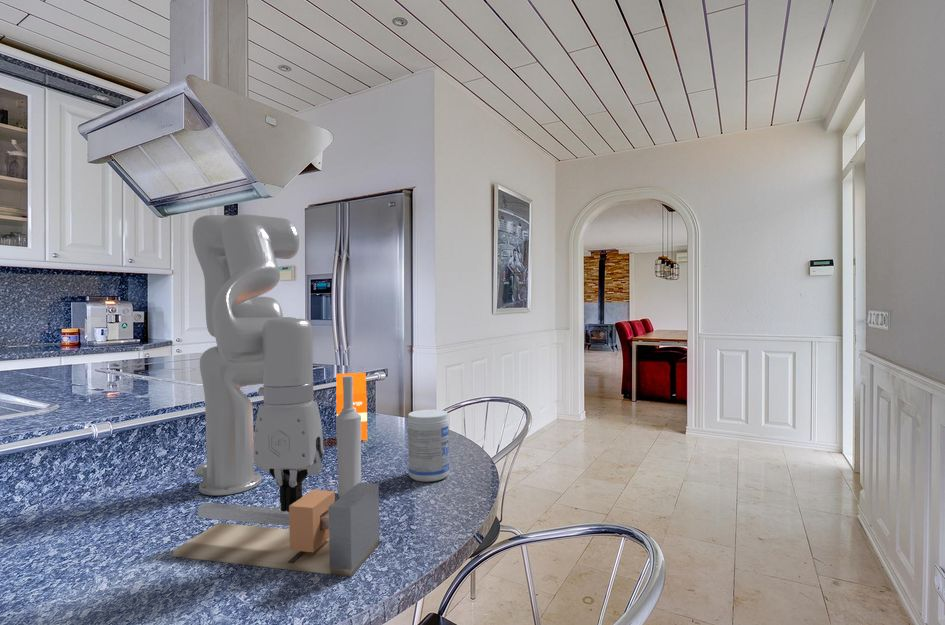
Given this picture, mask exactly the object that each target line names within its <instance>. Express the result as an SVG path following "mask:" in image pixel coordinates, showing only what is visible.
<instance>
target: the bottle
mask: <svg viewBox="0 0 945 625" xmlns="http://www.w3.org/2000/svg"><path fill="white" fill-rule="evenodd" d="M335 428H336V452H337V454H336V456H337V457H336V458H337V460H336V461H337V477H338V478H337V481H338V484H337V485H338V486H337V487H336V490H337V495H338V498H340V497H342V496H343V495H344V494H345V493H347V492H348V491H349V490H350V489H352V488H353V487H354V486H355V485H357V484H358V483H362V442H361V415H360V414H358V413H357V412H356V411H355V408H354V407H353V376H343V409H342V412H341V413H340V414H339V415H338V416H337V415H336V417H335Z"/></svg>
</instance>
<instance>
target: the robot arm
mask: <svg viewBox="0 0 945 625" xmlns="http://www.w3.org/2000/svg"><path fill="white" fill-rule="evenodd" d="M191 237H192V244H193V248H194V252H195V255H196V258H197V260H198V263H199V265H200V267H201V271H202V274H203V278H204V299H205V300H204V301H205V302H204V303H205V322H206V323H205V324H206V328H207V329H206V330H207V332H208V333H209V335H210V336H212V338H213V337H214V338H215V342H216V346H213V347H210V348H207V349H206V350H204V352H202V354H201V355H200V359H199V369H200V370H199V372H200V376H201V381H202V387H203V394H204V408H205V446H206V448H205V449H206V450H205V452H206V464H199V465H198V466H197V467H196V468H197V469H195V470H194V471H193V475H194V476H195V477H202V481H201V482H200V484H199V485H198V492H200V493H201V495H202V494H203V495H205V496H206V495H207V496H217V497H218V496H227V495H228V496H229V495H233V494H239V493H242V492H245V491H248V490H251V489H253V488H256V487H258V485H260V484H261V483H262V481H263V478H262V474H261V473H259V472H256V471H255V465H256V467H258V469H259V470H260V471H262V472H265V473H267V474H270V475H271V477H272V478H273V479H274V480H275V484H276V486H277V487H279V503H280V509H281V511H284V512H285V511H287V512H289V506H290V505H291V504H293V503H294V502H296V501H297V500H299V499H300V498H302V497H303V482H304V481H305V480H306V478H307V477H308V476H314V475H318V474H319V473H321V472H322V471H323V465H322V460H323V457H324V436H323V428H322V426H323V425H322V420H321V414H320V410H319V409H320V408H319V405H318V402H317V401H314V400H315V399H314V396H315V395H314V368H313V367H314V364H313V363H314V358H313V357H314V355H313V354H314V353H313V352H314V350H313V327H312V323H311V322H310V320H308V319H305V318H296V317H291V316H284V315H283V310H282V307H281V305H280V303H279V302H278V301H277V299H275V298H274V297H269V296H262V295H264V294H266V293H268V292H270V291H272V290H273V289H274V288H276V286H277V285H278V284H279V281H280V279H281V271H280V269H279V266H278V263H277V260H276V259H279V260H280V259H281V260H290V259H292V258H294V257H295V256H296V255H297V254H298V251H299V248H300V236H299V232H298V230H297V228H296V226H295V224H294V223H293V222H292V221H291V220H289V219H287V218H283V217H274V216H266V215H264V216H263V215H257V214H244V213H242V214H236V215H225V214H224V215H223V214H207V215H202V216H199V217H198V218H196V220H195V221H194V223H193V225H192V236H191ZM256 385H263V386H262V387H261V386H260V387H259V388H258V395H259V396H262V397H263V403H261V404H259V405H258V410H257V414H256V421H255V426H254V406H253V404H252V401H251V400H250V398H249V397H248V396H247V395H246V394H245V393H244V392H243V391H242V390H241V388H242V387H247V386H256Z"/></svg>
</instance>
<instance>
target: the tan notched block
mask: <svg viewBox="0 0 945 625" xmlns="http://www.w3.org/2000/svg"><path fill="white" fill-rule="evenodd" d="M335 495H336V492H335V491H333V490H321V489H311V490H310V491H309V492H307V493H306V494H305V495H302V498H300V499H299V500H297V501H296V502H294V503H293V504H291V505H290V506H289V526H288V527H289V530H290V550H295V551H304V552H314V551H315V550H317V549H318V548H319V547H320V546H321V545H322V544H323V543H324V542H325V541H326V540H327V539H329V529H320V515H322V514H323V513H324V512H326V513H329V506H330V505H331V504H333V503H334V502H335V501H336V496H335Z"/></svg>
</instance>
